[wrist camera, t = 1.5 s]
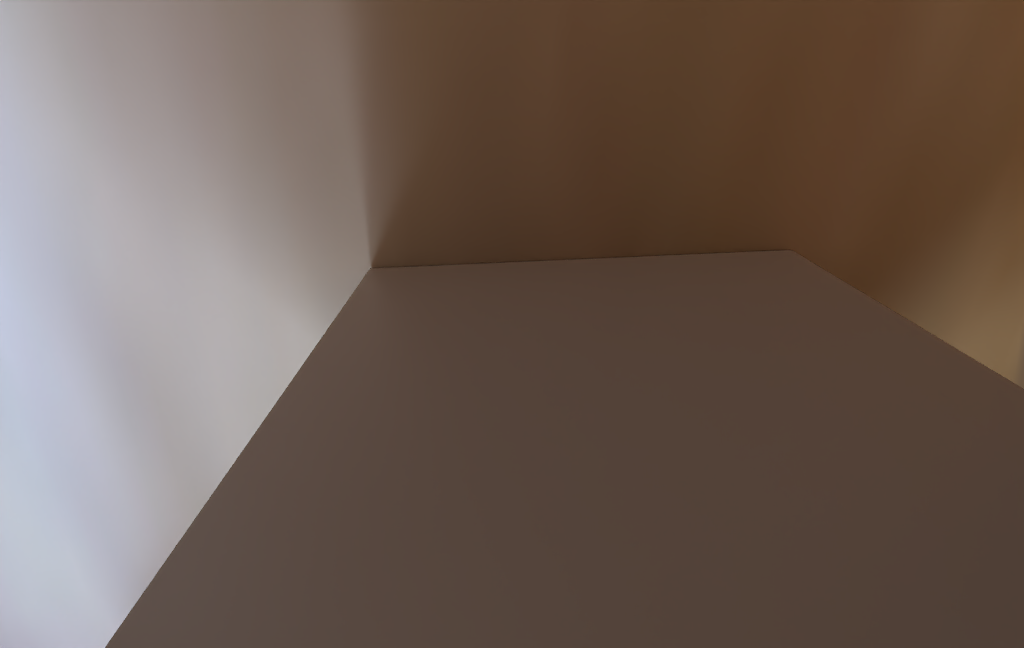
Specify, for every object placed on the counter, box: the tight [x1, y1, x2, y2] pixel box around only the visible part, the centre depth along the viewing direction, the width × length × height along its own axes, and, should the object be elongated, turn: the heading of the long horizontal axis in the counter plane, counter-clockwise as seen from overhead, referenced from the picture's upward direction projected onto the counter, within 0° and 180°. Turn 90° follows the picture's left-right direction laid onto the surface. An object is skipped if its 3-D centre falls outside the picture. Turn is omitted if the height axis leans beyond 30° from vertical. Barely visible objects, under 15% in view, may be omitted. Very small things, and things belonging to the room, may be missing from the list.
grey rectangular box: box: [105, 250, 1024, 648], centre depth 7 cm, size 8×8×9 cm
